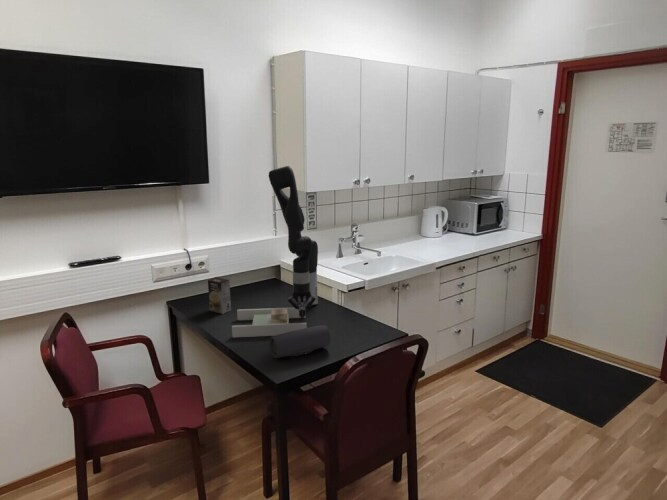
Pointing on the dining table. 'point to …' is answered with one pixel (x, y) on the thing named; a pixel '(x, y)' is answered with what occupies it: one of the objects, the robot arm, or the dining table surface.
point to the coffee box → (219, 295)
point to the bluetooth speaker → (299, 341)
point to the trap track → (265, 323)
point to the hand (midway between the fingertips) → (302, 317)
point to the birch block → (279, 316)
